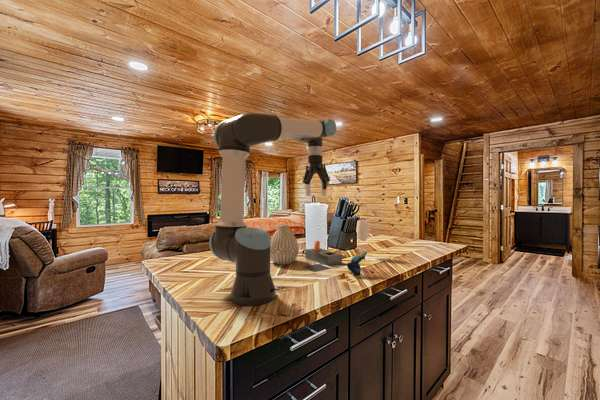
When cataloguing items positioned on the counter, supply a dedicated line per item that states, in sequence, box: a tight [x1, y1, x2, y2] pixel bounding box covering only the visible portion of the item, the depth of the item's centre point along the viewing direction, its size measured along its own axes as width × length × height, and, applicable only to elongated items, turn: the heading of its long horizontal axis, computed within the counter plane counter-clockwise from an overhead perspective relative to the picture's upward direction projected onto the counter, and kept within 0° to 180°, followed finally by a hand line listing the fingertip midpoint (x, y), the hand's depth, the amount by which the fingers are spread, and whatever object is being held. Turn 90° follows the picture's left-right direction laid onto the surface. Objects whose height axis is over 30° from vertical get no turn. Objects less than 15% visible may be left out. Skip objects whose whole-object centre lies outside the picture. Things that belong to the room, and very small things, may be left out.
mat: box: [302, 263, 332, 273], centre depth 124 cm, size 10×10×1 cm
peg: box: [313, 240, 321, 251], centre depth 142 cm, size 3×3×10 cm
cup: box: [356, 219, 371, 242], centre depth 147 cm, size 7×7×21 cm
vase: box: [270, 223, 300, 266], centre depth 134 cm, size 16×16×20 cm
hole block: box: [305, 247, 343, 267], centre depth 137 cm, size 20×9×5 cm, turn 33°
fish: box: [346, 251, 368, 276], centre depth 114 cm, size 4×10×10 cm, turn 112°
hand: (315, 196), depth 136 cm, fingers open, 13 cm apart
